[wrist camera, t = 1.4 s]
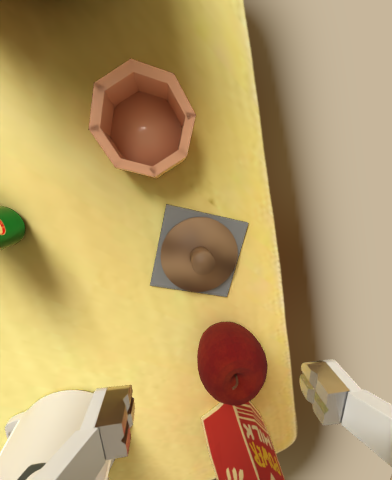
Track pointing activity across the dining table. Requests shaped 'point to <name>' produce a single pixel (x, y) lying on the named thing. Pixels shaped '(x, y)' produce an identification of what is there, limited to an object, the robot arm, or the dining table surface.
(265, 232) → the dining table surface
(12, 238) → the soda can
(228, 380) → the apple
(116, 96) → the bowl
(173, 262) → the lid
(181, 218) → the mat
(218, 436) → the milk carton
